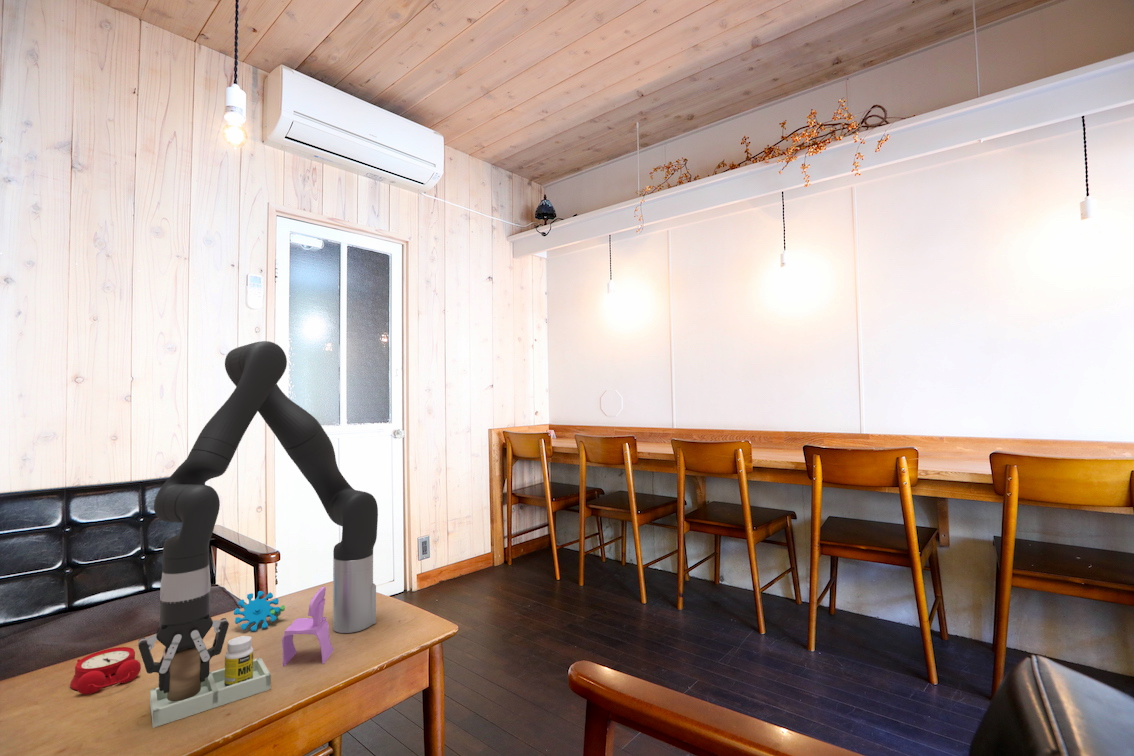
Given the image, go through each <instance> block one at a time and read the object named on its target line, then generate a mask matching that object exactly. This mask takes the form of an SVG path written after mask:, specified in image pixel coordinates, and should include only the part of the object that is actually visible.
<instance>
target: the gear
mask: <svg viewBox="0 0 1134 756" xmlns="http://www.w3.org/2000/svg"><path fill="white" fill-rule="evenodd" d="M264 593H265V592H264V591H262V590H259V591H258V592H257V597H256V598H255V599H254V600H252V599H253V597H254V593H251V592H250V593H247V595H246V599H247V600H248V604H245V599H242V598H241V600H239V601H238V602H237V604H238V606H239V607H242V609H243V610H242V611H241V610H240V608H239V607H236V608H235V609H234V611H233V615H235V616H237V617H235V618H234V622H235V625H239V624H240V623H242V622H245V623H242V624H240V628H241V630H242V631H245V630H247V628H248V627H249V626H250V625H251V624H253V623H255V624H254V625H252V626H251V627H250V632H257V630H258V625H259V624H260V623H261V622H262V624H261V629H262V630H264V629H268V626H269V623H268V622H267V620H266V619H267V618H269V619H270V621H269V622H271V623H273V622H276V621H277V619H278V618H279V616H281V614H282V612H284V611H285V609H286V606H285V605H284V604H282V605H280V606H276V605H279V598H274V599H273V597H274V594H273V593H272V592H271V591H270V592H268V593H267V594H266V596H264ZM263 596H264V597H263ZM261 597H263V598H261ZM269 599H270V600H269ZM271 599H273V600H271ZM272 604H273V605H275V606H272ZM238 615H240V616H243V617H239V616H238Z"/></svg>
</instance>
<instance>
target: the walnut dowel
mask: <svg viewBox="0 0 1134 756" xmlns="http://www.w3.org/2000/svg"><path fill="white" fill-rule="evenodd" d="M168 671H169V692H168V693H167V699H168V700H169V701H181V700H185V699H188V698H190V697H193V696H194V695H196V694H197V693H199V692H200V690H201V683H200V677H201V656H200V652H198V650H197V648H196V647H194V648H186V649H183V650H181V651H178V652H175V654H174V657H173V659H172V660H171V663H170V665H169V667H168Z"/></svg>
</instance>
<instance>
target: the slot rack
mask: <svg viewBox="0 0 1134 756" xmlns="http://www.w3.org/2000/svg"><path fill="white" fill-rule="evenodd" d="M271 676H272V675H271V673H270V671H269V669H268V668H267V666H266V664H265V662H264V660H263V659H262V658H261V657H258V658H253V678H252V679H249V680H246V681H242V682H239V683H236V684H233V685H230V686H226V687H225V686H224V682H225V667H224V668H223V667H222V668H220V669H217V670H213V671H209V676H208V677H207V678H205V681H204V682H201V690H200V692H199V693H197V694H196V695H194V696H193V697H190V698H188V699H185V700H181V701H169V700H168V699H167V693H165V694H164V691H160V690H159V686H158V687H155V688H152V689H150V690H149V691H150V694H149V708H150V714H151V715H150V716H151V724H152V729H154V728H157V727H159V726H160V727H161V726H162V725H166V724H169V723H172V722H177V721H178V720H181V719H185V718H188V717H190V716H193V715H197V714H200V713H202V712H205V711H209V710H211V709H215V708H218V707H221V706H224V705H227V704H230V703H232V702H233V703H234V702H236V701H239V700H242V699H247V698H248V697H251V696H255V695H258V694H261V693H264V692H266V691H269V690H271V683H272V682H271V678H272V677H271Z"/></svg>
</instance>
